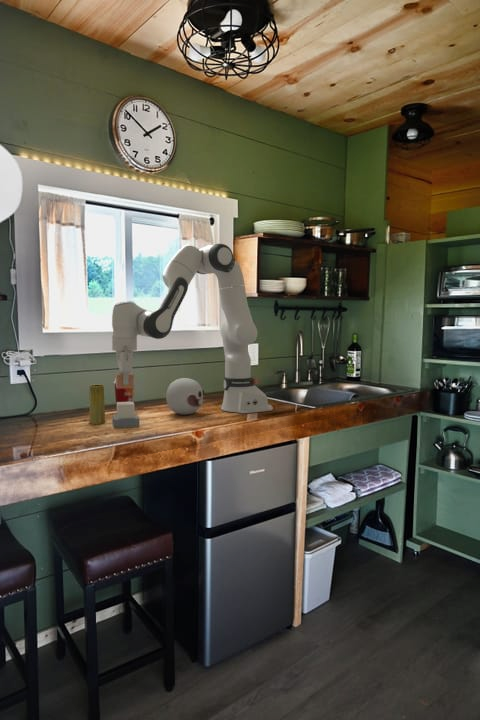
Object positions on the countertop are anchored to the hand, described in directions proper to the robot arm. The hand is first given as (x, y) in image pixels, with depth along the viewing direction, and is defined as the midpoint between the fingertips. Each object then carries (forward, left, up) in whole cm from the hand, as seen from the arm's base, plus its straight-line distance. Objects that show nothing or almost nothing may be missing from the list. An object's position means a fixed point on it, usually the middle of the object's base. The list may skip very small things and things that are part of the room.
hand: (124, 382), depth 184 cm
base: (0, 0, -16) cm, 16 cm away
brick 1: (0, 0, -2) cm, 2 cm away
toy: (-25, -12, -16) cm, 32 cm away
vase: (+10, -6, -16) cm, 20 cm away
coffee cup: (-1, -16, -16) cm, 23 cm away
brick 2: (0, 0, -13) cm, 13 cm away
